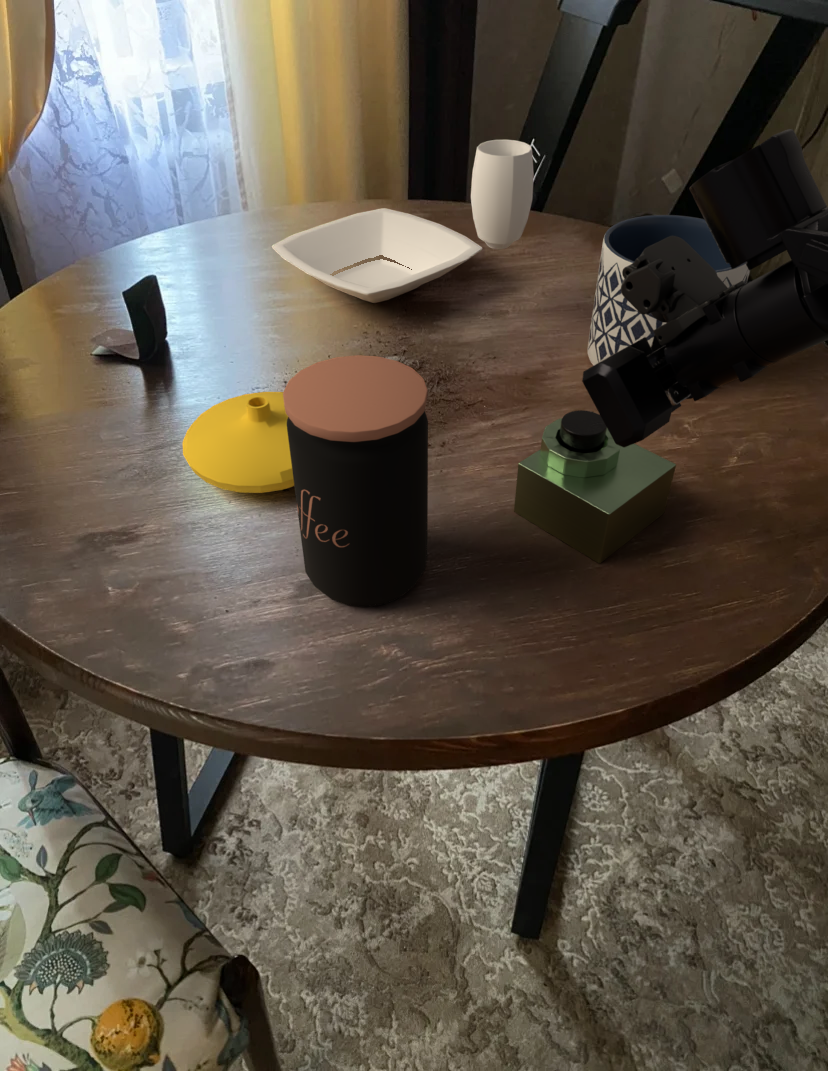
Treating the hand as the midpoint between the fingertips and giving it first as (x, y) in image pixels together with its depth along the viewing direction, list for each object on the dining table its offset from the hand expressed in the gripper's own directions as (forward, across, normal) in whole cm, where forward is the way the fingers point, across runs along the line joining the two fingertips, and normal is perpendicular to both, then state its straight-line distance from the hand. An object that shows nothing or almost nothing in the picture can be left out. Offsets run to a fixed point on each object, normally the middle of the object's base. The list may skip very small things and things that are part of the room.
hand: (607, 397), depth 71 cm
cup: (+32, -23, -14) cm, 42 cm away
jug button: (+5, 0, +3) cm, 6 cm away
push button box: (+9, 0, +9) cm, 13 cm away
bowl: (+44, -18, -26) cm, 55 cm away
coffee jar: (+15, +20, +3) cm, 25 cm away
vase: (+29, +17, -10) cm, 35 cm away
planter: (+17, -28, +1) cm, 33 cm away
